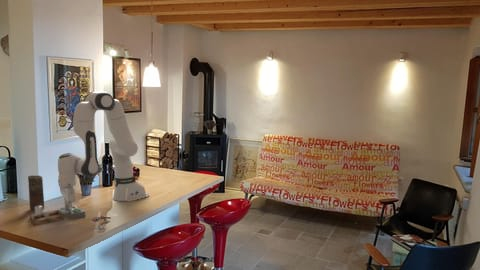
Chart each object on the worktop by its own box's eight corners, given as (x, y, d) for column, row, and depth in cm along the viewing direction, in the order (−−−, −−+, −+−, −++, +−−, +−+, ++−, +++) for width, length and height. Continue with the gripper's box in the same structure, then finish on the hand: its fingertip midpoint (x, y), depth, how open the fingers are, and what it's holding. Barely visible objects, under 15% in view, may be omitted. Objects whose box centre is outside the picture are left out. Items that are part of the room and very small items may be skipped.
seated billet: (42, 219, 197) (41, 205, 196) (43, 221, 194) (43, 206, 193) (35, 220, 195) (34, 206, 194) (36, 222, 192) (35, 208, 191)
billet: (71, 209, 213) (70, 195, 212) (72, 210, 210) (72, 197, 209) (64, 210, 211) (63, 196, 209) (65, 212, 208) (65, 198, 207)
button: (79, 212, 205) (78, 207, 204) (80, 213, 202) (80, 208, 202) (73, 213, 203) (73, 208, 202) (74, 214, 201) (74, 209, 200)
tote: (75, 207, 216) (75, 205, 216) (78, 211, 210) (78, 209, 210) (58, 210, 211) (58, 208, 211) (61, 214, 204) (61, 212, 204)
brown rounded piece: (31, 208, 214) (29, 174, 212) (45, 206, 217) (43, 173, 214) (28, 212, 207) (26, 177, 205) (43, 211, 210) (41, 177, 207)
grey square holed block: (82, 213, 208) (82, 208, 207) (85, 216, 202) (85, 211, 202) (68, 215, 203) (68, 210, 203) (71, 219, 198) (71, 214, 198)
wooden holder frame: (58, 213, 206) (58, 209, 205) (63, 220, 196) (63, 216, 196) (30, 219, 197) (30, 214, 197) (33, 226, 188) (33, 221, 188)
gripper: (77, 185, 202) (78, 209, 204) (69, 177, 218) (70, 200, 220) (65, 187, 198) (66, 211, 200) (57, 179, 214) (58, 202, 216)
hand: (68, 205), depth 210 cm, fingers open, 5 cm apart
